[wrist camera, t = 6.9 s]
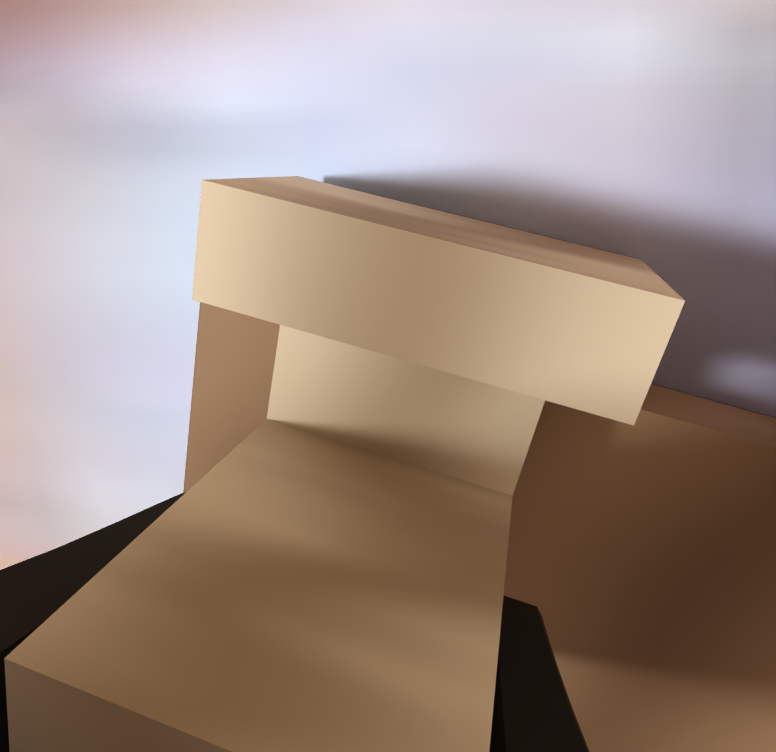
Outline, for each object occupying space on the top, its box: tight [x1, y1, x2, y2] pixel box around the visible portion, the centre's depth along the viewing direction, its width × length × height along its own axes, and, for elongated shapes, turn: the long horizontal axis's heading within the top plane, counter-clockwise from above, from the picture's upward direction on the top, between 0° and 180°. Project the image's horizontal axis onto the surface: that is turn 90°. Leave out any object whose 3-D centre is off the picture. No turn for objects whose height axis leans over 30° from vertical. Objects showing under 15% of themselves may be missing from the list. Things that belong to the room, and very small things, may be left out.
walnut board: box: [183, 302, 776, 752], centre depth 11 cm, size 20×10×2 cm, turn 78°
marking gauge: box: [4, 176, 685, 752], centre depth 9 cm, size 6×11×7 cm, turn 168°
